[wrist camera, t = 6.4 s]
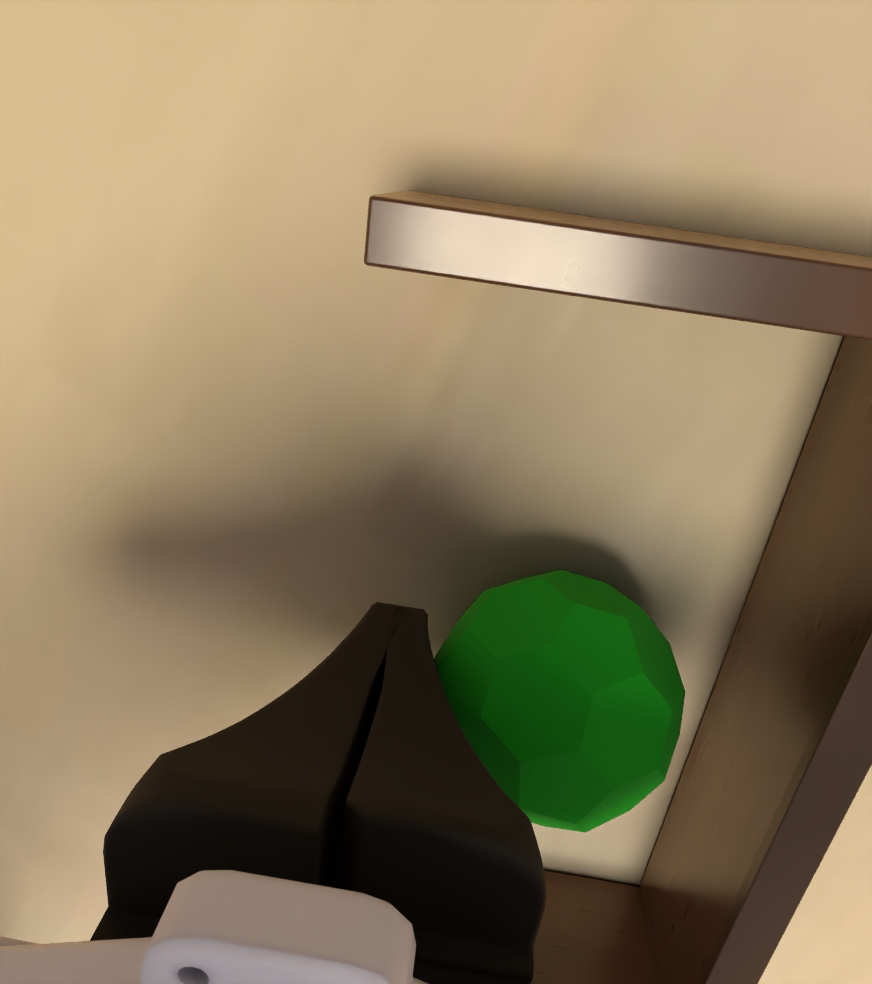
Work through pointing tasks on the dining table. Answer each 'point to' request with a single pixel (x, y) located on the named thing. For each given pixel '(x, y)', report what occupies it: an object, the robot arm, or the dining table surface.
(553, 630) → the polyhedron
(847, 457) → the brown l-shaped bars
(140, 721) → the dining table surface
